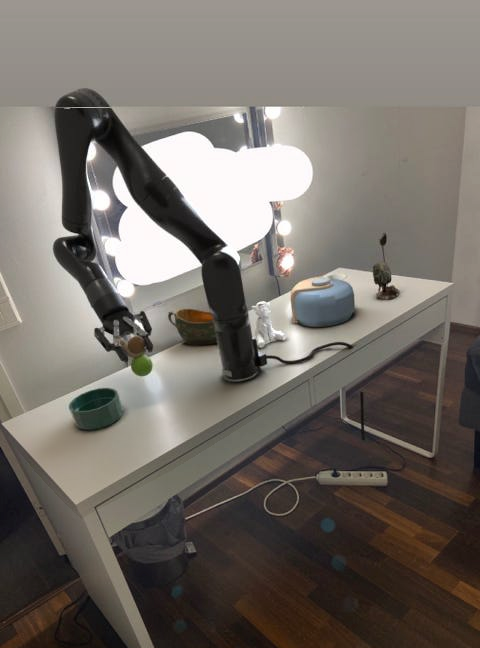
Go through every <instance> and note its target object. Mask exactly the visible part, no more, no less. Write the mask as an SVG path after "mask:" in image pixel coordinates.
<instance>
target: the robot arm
mask: <svg viewBox="0 0 480 648" xmlns="http://www.w3.org/2000/svg"><path fill="white" fill-rule="evenodd" d="M55 107H111V105H110V104H109V103H108V102H107V100H106V99H105V98H104V97H103V96H102V95H101V94H100V93H99V92H97V91H96V90H95V89H92V88H87V87H81V88H79V89H78V88H77V89H75V90H73V91H71V92H69V93H66V94H64V95H62V96H61V97H60V98H59V99H58V100H57V101H56V103H55V106H54V110H53V111H54V114H53V116H54V118H53V119H54V129H55V135H56V141H57V143H56V144H57V149H58V157H59V158H58V159H59V167H60V176H61V225H62V227H63V228H64V229H65V230H66V231H68V232H69V233H72V234H75V235H67V236H59V237H57V238H56V239H55V240H54V241H53V244H52V252H53V255H54V259H56V261H57V262H58V264H59V265H60V267H62V269H63V270H64V271H66V272H67V273H68V274H69V275H70V277H72V278H73V279H75V280H76V282H77V283H78V285H79V286H80V288H81V289H82V291H83V292H84V294H85V296H86V299H87V301H88V303H89V305H90V307H91V309H92V310H93V311H94V314H95V315H96V316H97V318H98V320H99V322H100V323H101V324H102V326H100V327H95V328H94V329H93V336H94V337H95V339H96V340H97V341H98V342H99V343H100V345H101V346H102V347H103V349H104V350H105V351H106V352H107V353H109V352H115V353H116V355H117V356H118V358H119V359H120V361H121V362H124V363H128V362H129V356H128V355H127V354H126V352H125V351H124V349H123V348H122V346H121V345H120V341H119V340H120V339H122V338H124V337H126V336H129V335H133V337H134V336H140V337H142V338H143V339H144V341H145V348H146V351H147V352H148V353H152V352H153V349H154V344H153V342H152V340H151V339H150V336H151V335H152V331H153V328H152V325H151V323H150V321H149V319H148V316H147V314H146V312H145V311H144V310H141V311H140V312H139V313H136V314H134V313H133V312H131V311H130V309H129V308H128V306H127V304H126V302H125V301H124V299H123V297H122V296H121V294H120V293H119V290H118V289H117V288H116V286H115V285H114V284H113V282H112V281H111V280H110V278H109V276H108V275H107V274H106V272H105V270H104V269H103V267H102V266H101V265H100V264H99V263H97V262H95V259H96V257H97V254H98V248H97V243H96V239H95V235H94V230H93V214H94V213H93V211H94V195H93V189H92V186H91V183H90V180H89V176H88V158H89V157H88V156H89V152H90V148H91V143H93V142H95V143H96V144H97V145H98V146H99V147H101V148H102V150H103V151H104V152H105V153H106V154H107V155H108V156H109V157H110V158H111V159H112V161H113V162H114V163H115V165H116V167H117V168H118V170H119V172H120V175H121V177H122V179H123V183H124V185H125V187H126V188H127V189H126V190H127V191H128V193H129V195H130V196H131V199H132V200H133V201H134V203H135V204H136V205H137V206H138V207H139V208H140V209H141V211H143V212H144V214H146V216H148V218H149V219H150V220H151V221H152V222H154V224H155V225H157V226H158V227H159V228H161V229H162V230H163V231H165V232H166V233H168V234H169V235H170V236H172V237H173V238H175V239H176V240H178V241H180V242H181V243H182V244H183V245H184V246H185V247H186V248H187V249H188V250H189V251H190V252H191V253H192V255H193V256H194V257H195V258H196V259H197V261H198V262H199V263H200V264H201V269H200V270H201V271H200V274H201V279H202V285H203V290H204V293H205V297H206V303H207V306H208V308H209V310H210V311H209V312H211V314H212V319H213V324H214V328H215V333H216V338H217V343H216V344H217V348H218V352H219V357H220V362H221V367H222V368H221V373H222V375H223V378H224V380H225V382H229V383H234V384H235V383H236V384H237V383H243V382H247V381H251V380H252V379H254V378H257V376H258V375H259V373H261V372H262V368H261V367H264V366H266V365H268V359H269V360H277V361H278V362H280V363H281V364H285V365H295V364H299V363H303V362H306V361H308V360H310V359H311V358H312V357H313V356H314V354H315V353H316V352H317V351H320V350H323V349H326V348H329V347H333V346H344V347H347V348H349V349H353V348H354V346H353V345H352V344H350V343H347V342H344V341H334V342H329V343H326V344H323V345H320V346H317V347H314V348H313V349H312V350H311V351H310V353H309V354H308V355H306V356H305V357H302V358H300V359H299V358H298V359H295V360H294V359H293V360H285V359H283V358H281V357H279V356H277V355H269V354H267V353H265V352H262V351H259V350H258V349H259V347H258V345H257V341H256V337H253V333H252V326H251V320H250V313H249V309H248V302H247V299H246V295H245V290H244V284H243V279H242V261H241V257H240V255H239V254H238V252H237V251H236V250H235V249H234V248H233V247H232V246H231V245H230V244H229V243H227V242H226V241H225V240H224V239H223V238H222V237H221V236H220V235H219V234H218V233H217V232H216V231H215V230H213V228H212V227H210V226H209V225H208V223H207V222H206V221H205V220H204V218H203V217H202V216H201V215H200V213H199V212H198V211H197V209H196V208H195V207H194V205H193V204H192V203H191V202H190V201H189V199H188V198H187V197H186V195H185V194H184V193H183V192H182V191H181V189H180V188H179V187H178V185H176V184H175V183H174V181H173V180H172V179H171V178H170V177H169V176H168V175H167V173H166V172H164V170H162V169H161V167H160V166H159V165H158V164H157V163H156V162H155V161H154V160H153V158H152V157H151V156H150V155H149V154H148V153H147V151H146V150H145V149H144V148H143V147H142V145H140V143H139V142H138V141H137V140H136V139H135V137H134V136H133V135H132V134H131V132H130V131H129V129H128V128H127V127H126V126H125V125H124V123H123V122H122V121H121V119H120V117H119V116H118V115H117V113H116V112H115V111H114V109H113V108H112V107H111V108H70V109H64V108H55ZM135 321H137V322H138V323H139V324H141V326H142V327H141V326H140V325H139V324H137V323H136V322H135ZM105 333H107V334H109V335H112V341H113V342H110V341H109V339H108V338H107V337H106V336H105V335H106V334H105ZM117 336H120V337H121V338H120V339H119V338H118V337H117ZM359 397H360V398H359V399H360V432H361V441H362V442H363V441H365V440H366V435H365V410H364V409H365V405H364V391H361V392H359Z"/></svg>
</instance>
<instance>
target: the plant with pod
mask: <svg viewBox="0 0 480 648" xmlns="http://www.w3.org/2000/svg"><path fill="white" fill-rule="evenodd" d="M387 237H388V236H387V233H386V232H382V233H381V235H380V236H379V239H378V241H379V245H380V246H381V248H382V256H383V257H382V258H383V260H382V261H377V262H376V263H375V264H374V263H371V264H374V265H373V266H372V277H373V282H374V284H375V285H378V290H377V291H378V292H377V293H375V294H376V296H375V297H376V298H377V299H380V300H391V299H393V298H395V297H397V296H398V295H399V292H400V289H398V288H397V287H396V286H395V285H394V284H391V285H389V284H390V283H391V282H392V279H393V278H392V272H391V269H390V265H389V263H387V261H386V260H385V251H384V249H385V248H384V246H385V245H386V244H387Z"/></svg>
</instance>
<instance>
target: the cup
mask: <svg viewBox="0 0 480 648" xmlns="http://www.w3.org/2000/svg"><path fill="white" fill-rule="evenodd" d="M172 316H174V320H173V318H172ZM167 319H168V321H169V322H170V323H171V324H172V326H174V327H175V328H176V330H177V332H178V334H179V336H180V337H181V339H183V341H185V343H186V344H188V345H190V346H191V345H192V346H194V345H195V346H201V345H202V346H203V345H212V344H218V343H217V338H216V333H215V328H214V324H213V319H212V314H211V311H206V310H201V309H197V308H180V309H178V310H176V311H169V312H168V314H167ZM174 321H175V322H174Z"/></svg>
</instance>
